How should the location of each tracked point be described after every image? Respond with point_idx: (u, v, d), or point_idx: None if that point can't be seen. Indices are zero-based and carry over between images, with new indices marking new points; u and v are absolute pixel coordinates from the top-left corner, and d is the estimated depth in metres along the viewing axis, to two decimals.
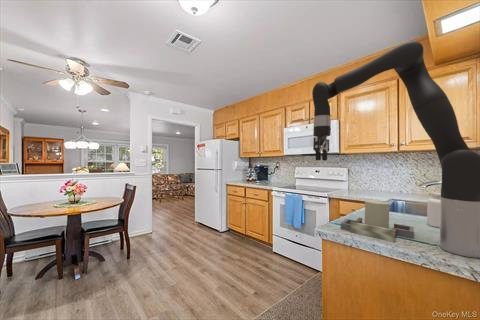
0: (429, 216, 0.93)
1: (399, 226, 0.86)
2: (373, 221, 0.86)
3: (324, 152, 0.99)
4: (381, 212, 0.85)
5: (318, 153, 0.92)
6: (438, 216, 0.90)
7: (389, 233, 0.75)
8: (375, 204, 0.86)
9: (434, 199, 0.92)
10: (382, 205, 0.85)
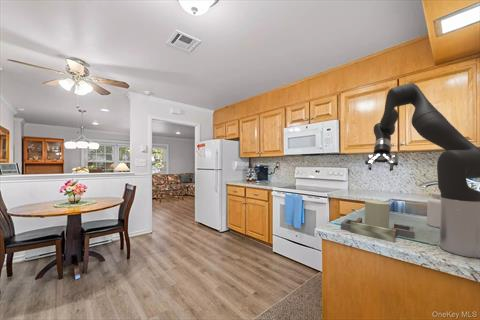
0: (429, 216, 0.93)
1: (399, 226, 0.86)
2: (373, 221, 0.86)
3: (390, 164, 1.04)
4: (381, 212, 0.85)
5: (368, 164, 1.09)
6: (438, 216, 0.90)
7: (389, 233, 0.75)
8: (375, 204, 0.86)
9: (434, 199, 0.92)
10: (382, 205, 0.85)
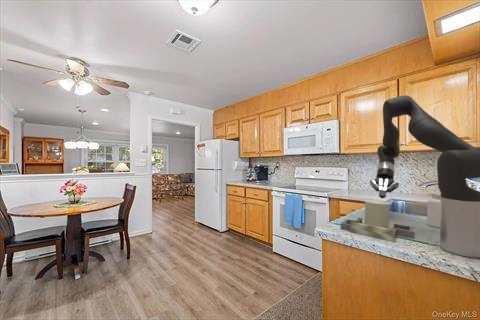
0: (429, 216, 0.93)
1: (399, 226, 0.86)
2: (373, 221, 0.86)
3: None
4: (381, 212, 0.85)
5: (379, 191, 1.04)
6: (438, 216, 0.90)
7: (389, 233, 0.75)
8: (375, 204, 0.86)
9: (434, 199, 0.92)
10: (382, 205, 0.85)
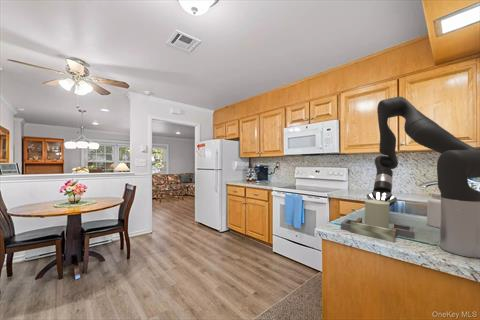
0: (429, 216, 0.93)
1: (399, 226, 0.86)
2: (373, 221, 0.86)
3: None
4: (381, 212, 0.85)
5: None
6: (438, 216, 0.90)
7: (389, 233, 0.75)
8: (375, 204, 0.86)
9: (434, 199, 0.92)
10: (382, 205, 0.85)
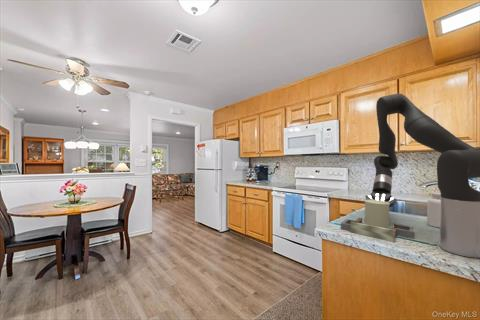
0: (429, 216, 0.93)
1: (399, 226, 0.86)
2: (373, 221, 0.86)
3: None
4: (381, 212, 0.85)
5: None
6: (438, 216, 0.90)
7: (389, 233, 0.75)
8: (375, 204, 0.86)
9: (434, 199, 0.92)
10: (382, 205, 0.85)
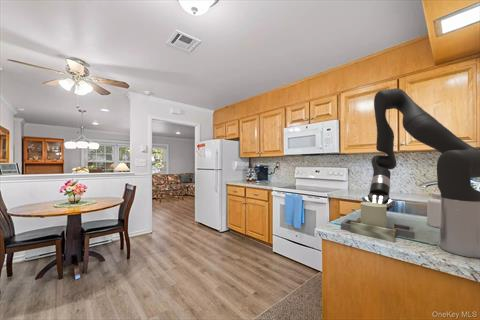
0: (429, 216, 0.93)
1: (399, 226, 0.86)
2: (369, 224, 0.81)
3: None
4: (377, 215, 0.80)
5: None
6: (438, 216, 0.90)
7: (389, 233, 0.75)
8: (371, 207, 0.81)
9: (434, 199, 0.92)
10: (378, 208, 0.80)
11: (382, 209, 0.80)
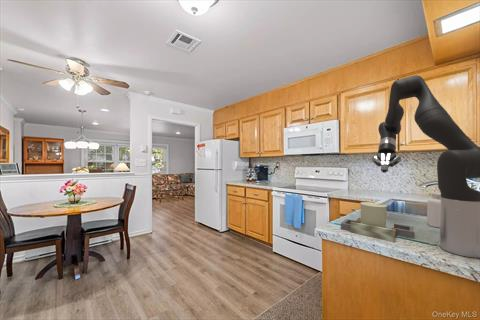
0: (429, 216, 0.93)
1: (399, 226, 0.86)
2: None
3: None
4: (377, 215, 0.80)
5: (381, 166, 1.02)
6: (438, 216, 0.90)
7: (389, 233, 0.75)
8: (371, 207, 0.81)
9: (434, 199, 0.92)
10: (378, 208, 0.80)
11: (382, 209, 0.80)
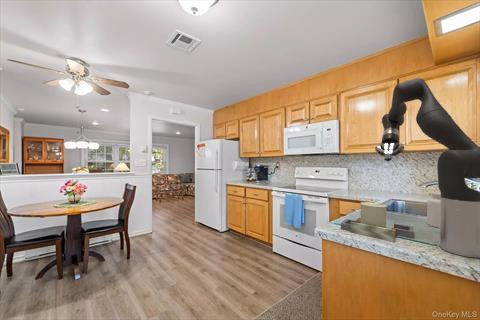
0: (429, 216, 0.93)
1: (399, 226, 0.86)
2: None
3: None
4: (377, 215, 0.80)
5: (384, 155, 1.05)
6: (438, 216, 0.90)
7: (389, 233, 0.75)
8: (371, 207, 0.81)
9: (434, 199, 0.92)
10: (378, 208, 0.80)
11: (382, 209, 0.80)
